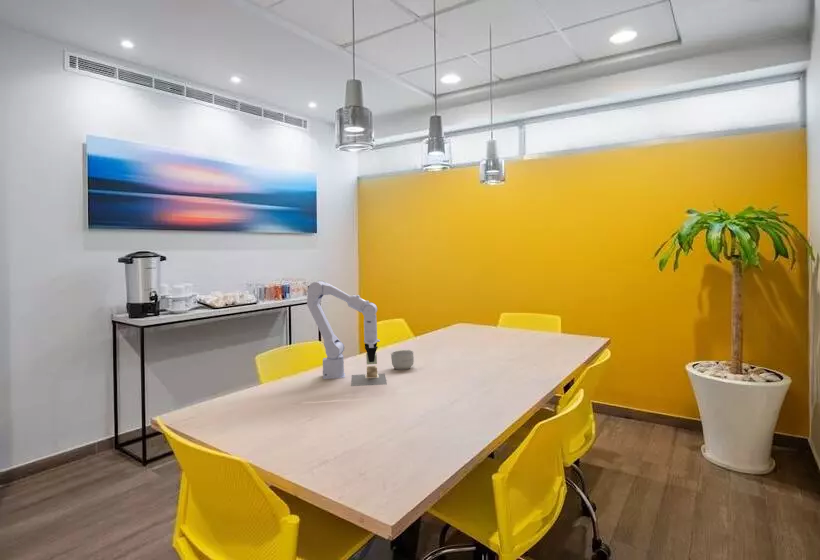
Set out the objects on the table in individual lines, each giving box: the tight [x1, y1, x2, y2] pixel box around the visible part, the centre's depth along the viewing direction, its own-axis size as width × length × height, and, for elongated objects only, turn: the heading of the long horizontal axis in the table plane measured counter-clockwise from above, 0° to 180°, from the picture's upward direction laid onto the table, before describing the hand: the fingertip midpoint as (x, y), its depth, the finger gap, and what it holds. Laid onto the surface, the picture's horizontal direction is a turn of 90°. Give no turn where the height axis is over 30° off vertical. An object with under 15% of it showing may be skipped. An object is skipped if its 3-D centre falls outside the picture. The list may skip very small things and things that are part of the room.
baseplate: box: [350, 372, 388, 387], centre depth 207 cm, size 15×17×1 cm
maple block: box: [366, 365, 378, 378], centre depth 212 cm, size 4×4×4 cm
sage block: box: [365, 352, 378, 365], centre depth 211 cm, size 4×4×4 cm
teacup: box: [390, 349, 415, 371], centre depth 227 cm, size 14×11×8 cm
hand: (371, 360), depth 211 cm, fingers closed on sage block, 4 cm apart
